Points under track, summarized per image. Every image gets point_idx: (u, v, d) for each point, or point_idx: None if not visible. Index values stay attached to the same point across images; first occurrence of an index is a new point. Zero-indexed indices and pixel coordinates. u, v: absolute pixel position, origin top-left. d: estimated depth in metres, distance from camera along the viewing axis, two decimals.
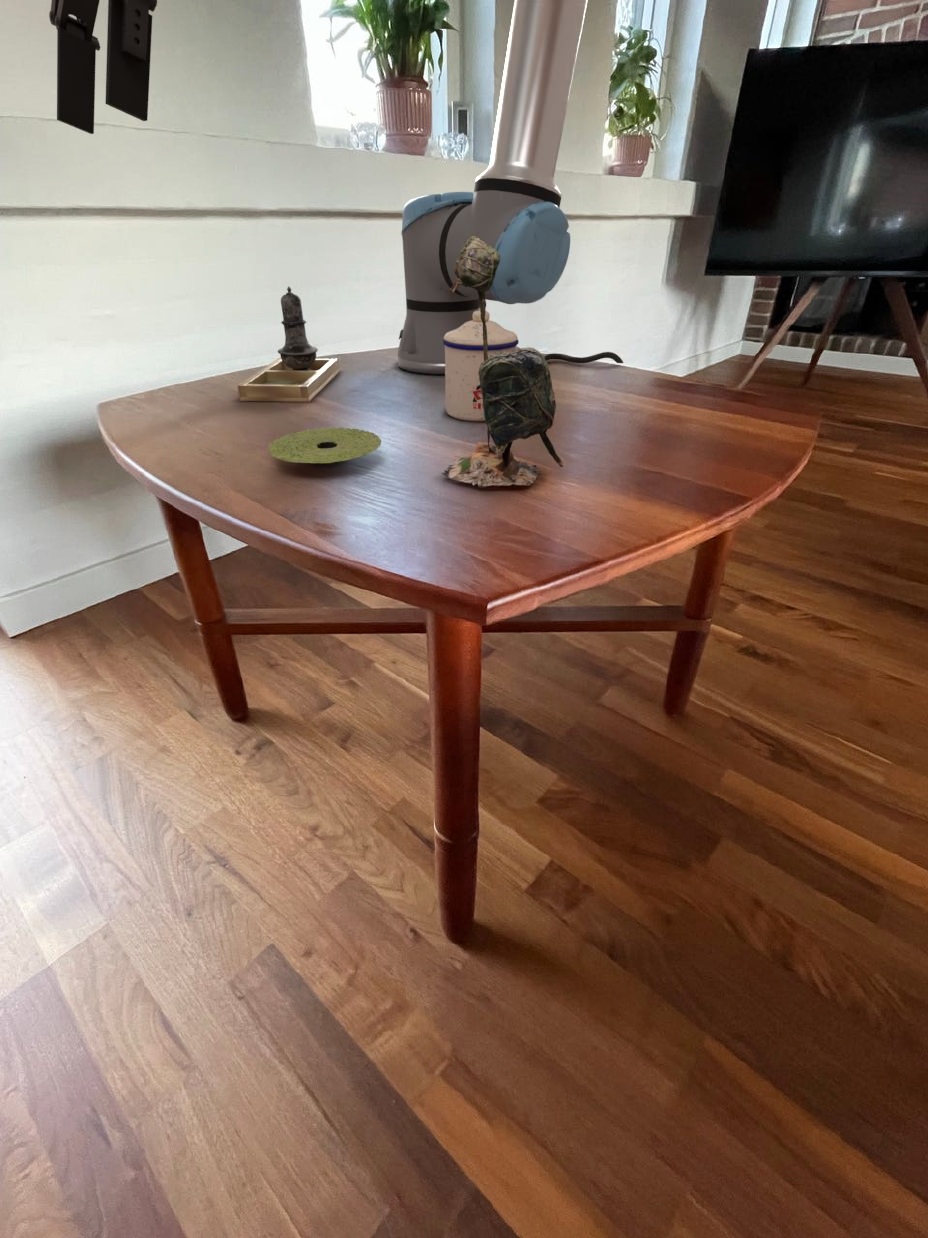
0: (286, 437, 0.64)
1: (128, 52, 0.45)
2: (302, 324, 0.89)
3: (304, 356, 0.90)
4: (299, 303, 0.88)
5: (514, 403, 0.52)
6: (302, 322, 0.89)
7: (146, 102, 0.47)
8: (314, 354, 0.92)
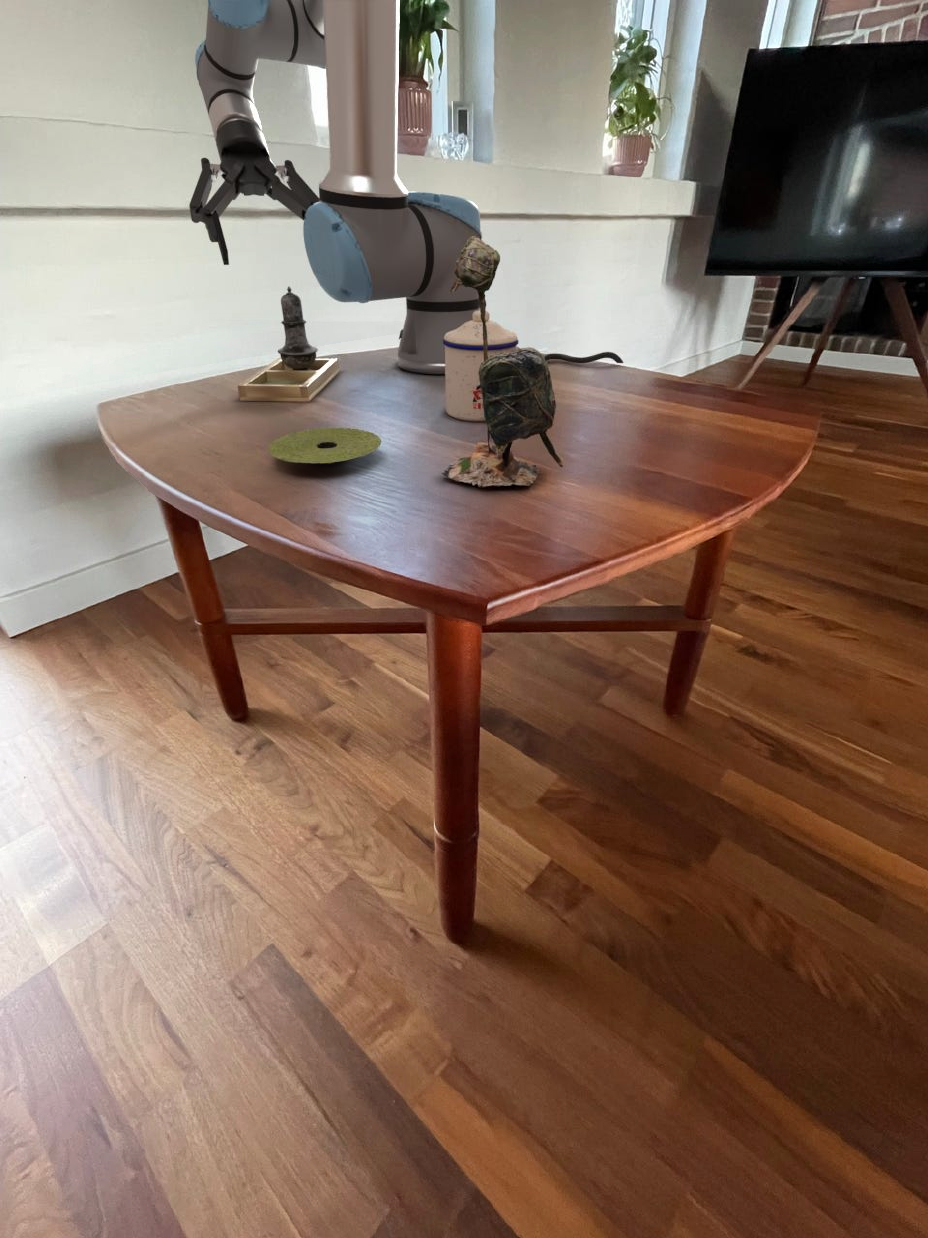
0: (286, 437, 0.64)
1: (212, 240, 0.92)
2: (302, 324, 0.89)
3: (304, 356, 0.90)
4: (299, 303, 0.88)
5: (514, 403, 0.52)
6: (302, 322, 0.89)
7: (220, 245, 0.90)
8: (314, 354, 0.92)
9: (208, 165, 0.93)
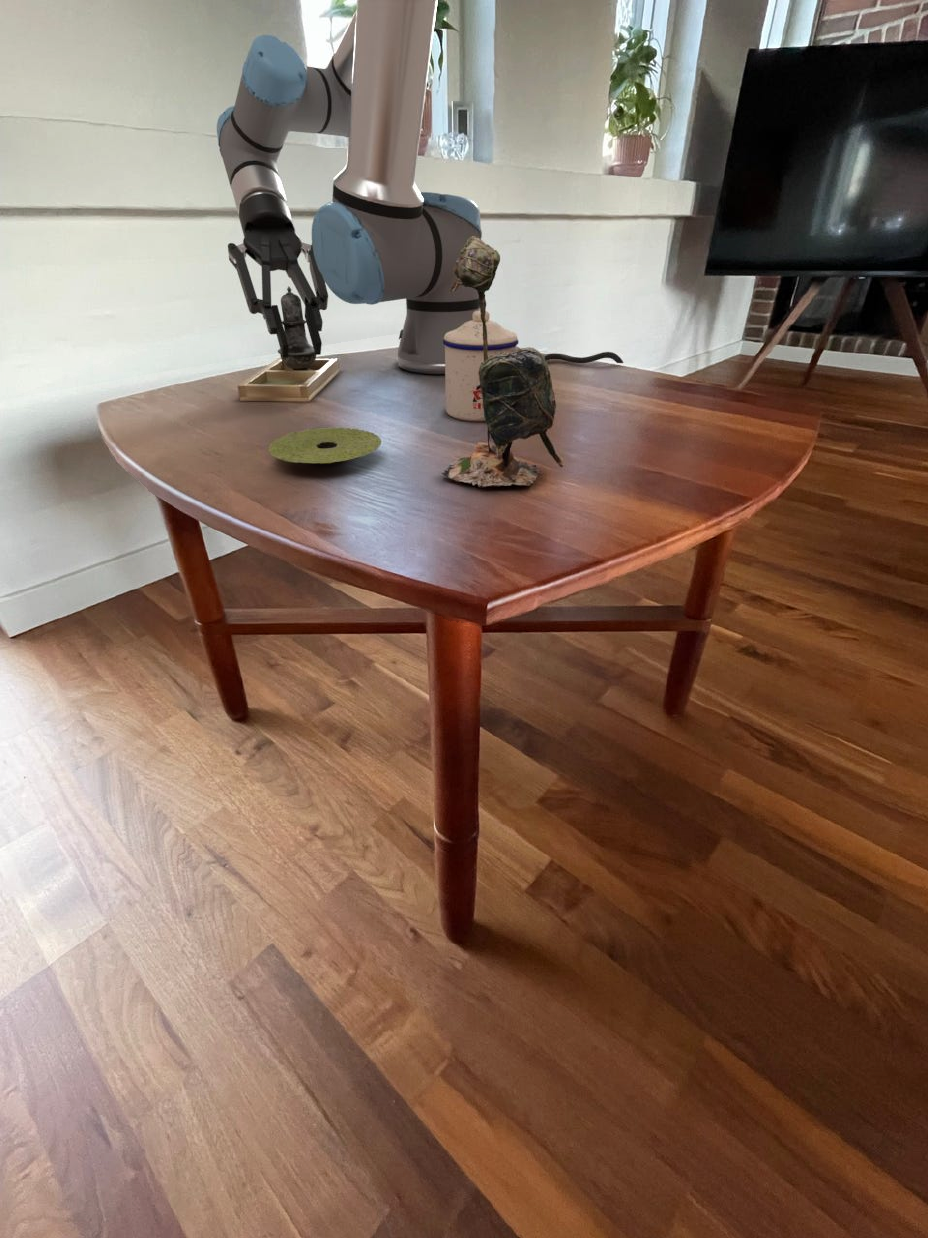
0: (286, 437, 0.64)
1: (271, 333, 0.88)
2: (302, 324, 0.89)
3: (304, 356, 0.90)
4: (299, 303, 0.88)
5: (514, 403, 0.52)
6: (302, 322, 0.89)
7: (281, 339, 0.87)
8: (314, 354, 0.92)
9: (237, 249, 0.88)
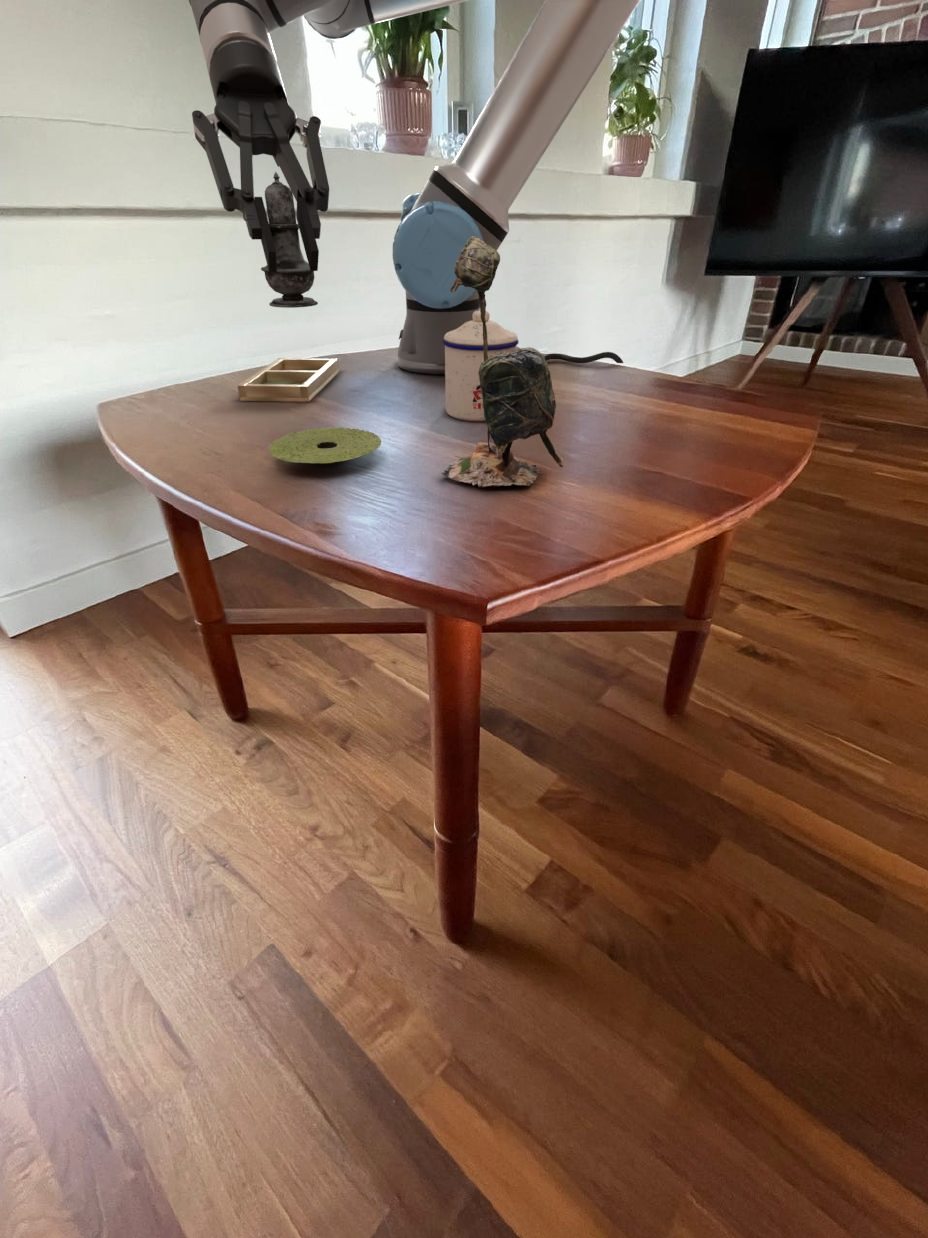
0: (286, 437, 0.64)
1: (253, 237, 0.63)
2: (294, 228, 0.64)
3: (297, 274, 0.65)
4: (290, 197, 0.63)
5: (514, 403, 0.52)
6: (294, 225, 0.64)
7: (266, 243, 0.62)
8: (311, 273, 0.67)
9: (206, 120, 0.63)
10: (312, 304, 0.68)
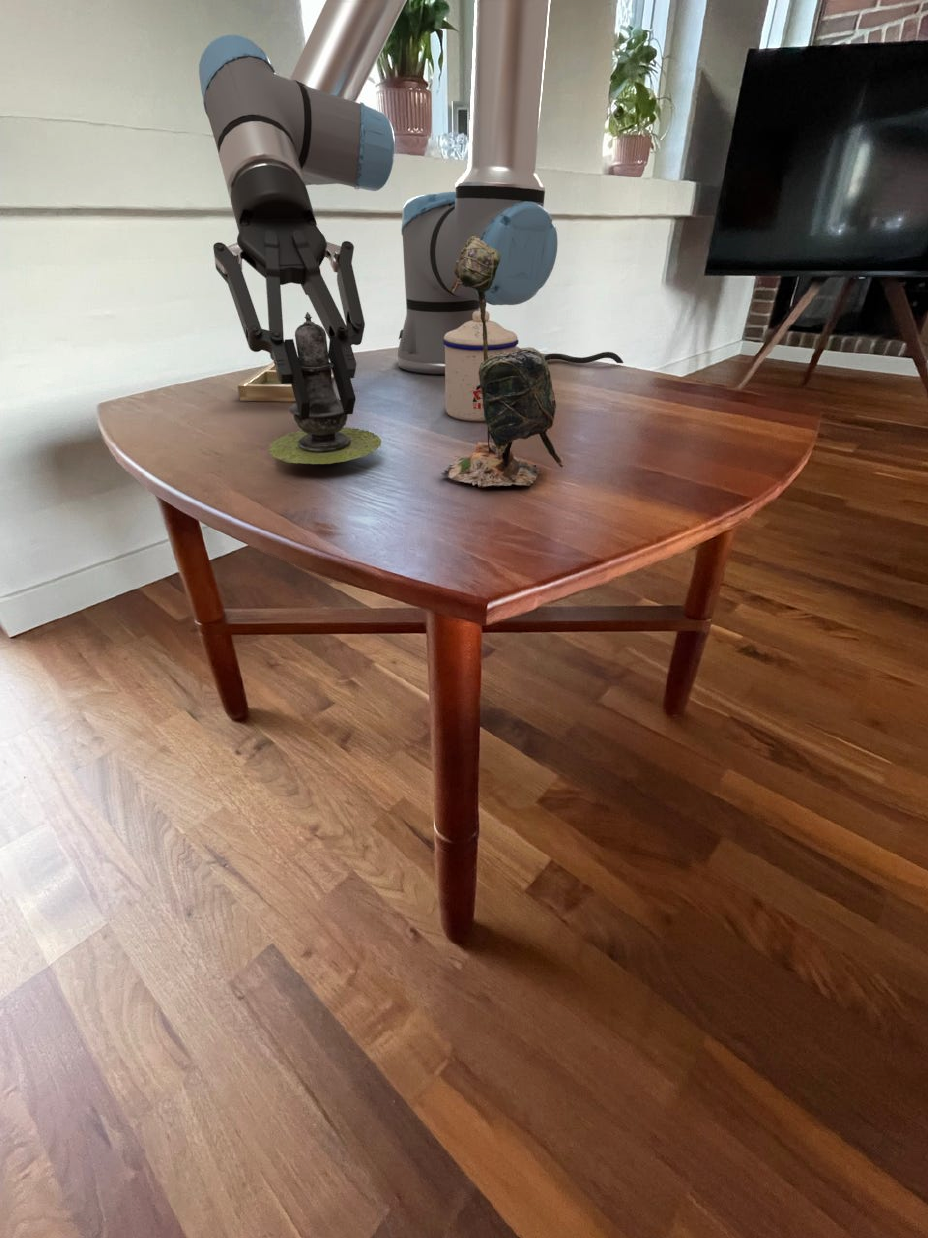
0: (286, 437, 0.64)
1: (283, 382, 0.57)
2: (328, 370, 0.58)
3: (330, 418, 0.59)
4: (324, 338, 0.57)
5: (514, 403, 0.52)
6: (328, 367, 0.58)
7: (298, 393, 0.55)
8: None
9: (229, 253, 0.56)
10: (345, 444, 0.62)
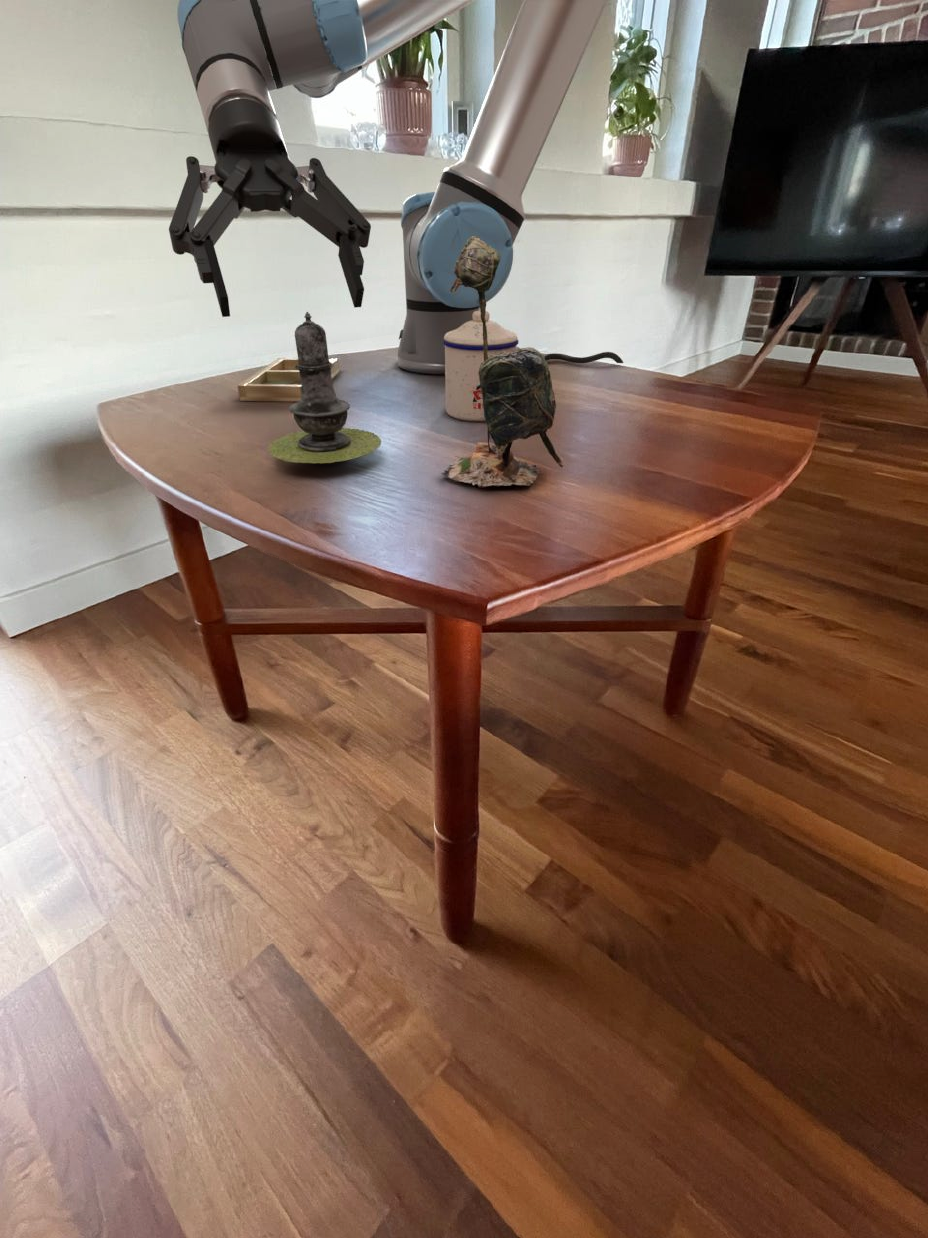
0: (286, 437, 0.64)
1: (204, 281, 0.61)
2: (327, 369, 0.58)
3: (330, 417, 0.59)
4: (323, 338, 0.57)
5: (514, 403, 0.52)
6: (328, 366, 0.58)
7: (217, 288, 0.59)
8: (345, 413, 0.60)
9: (197, 168, 0.62)
10: (345, 444, 0.62)
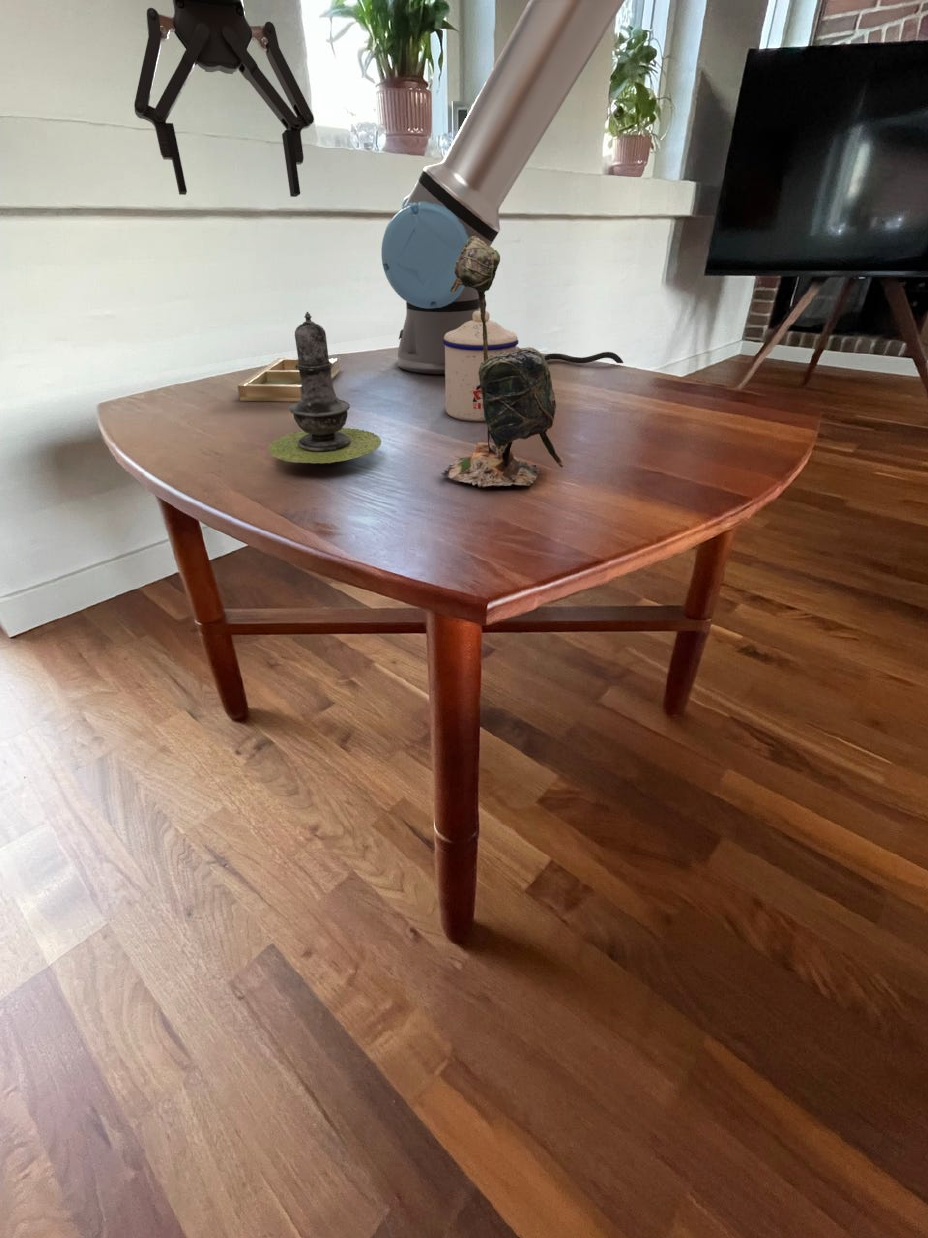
0: (286, 437, 0.64)
1: (165, 158, 0.73)
2: (328, 369, 0.58)
3: (330, 417, 0.59)
4: (323, 338, 0.57)
5: (514, 403, 0.52)
6: (328, 366, 0.58)
7: (177, 180, 0.73)
8: (345, 413, 0.60)
9: (157, 25, 0.67)
10: (345, 444, 0.62)
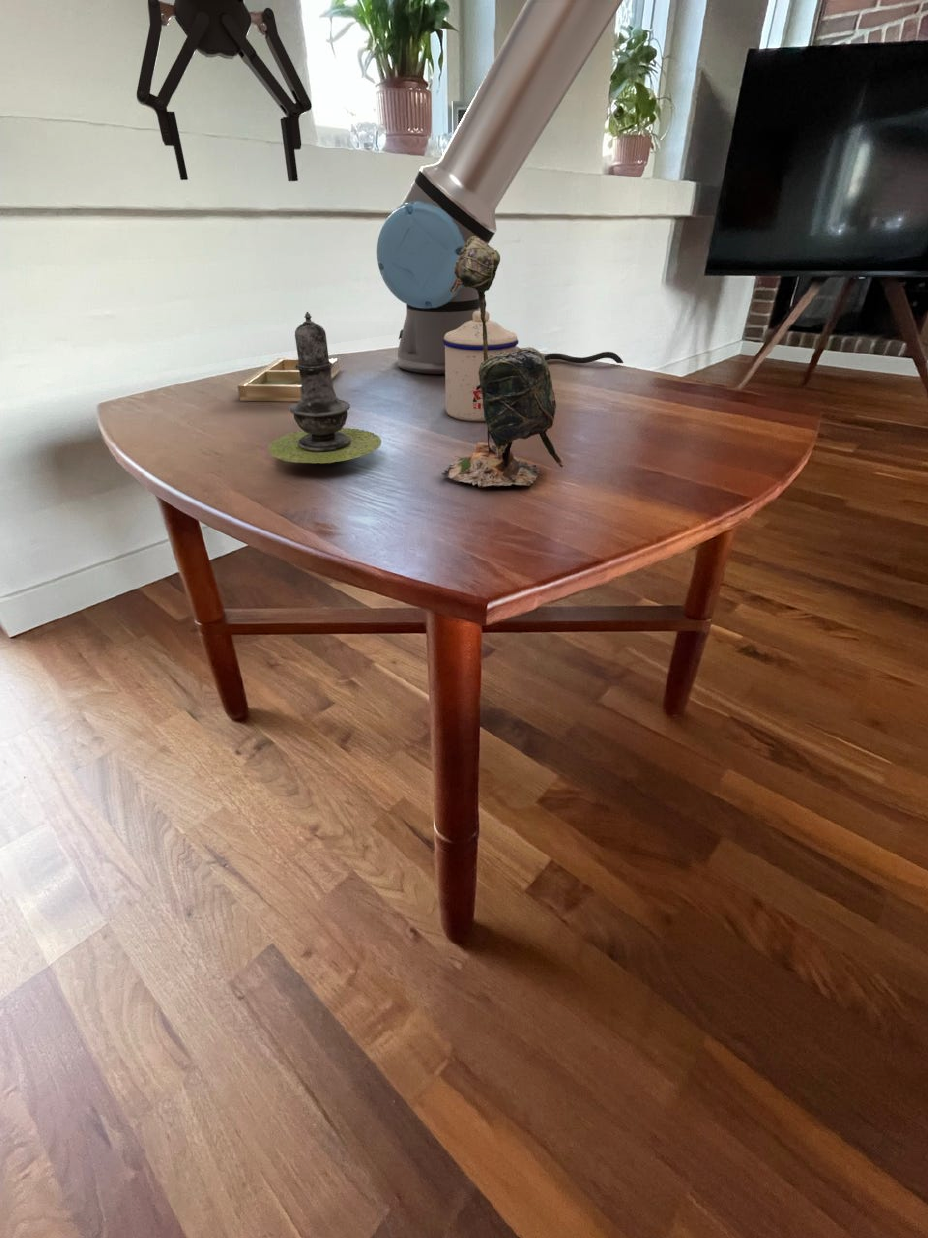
0: (286, 437, 0.64)
1: (166, 145, 0.75)
2: (328, 369, 0.58)
3: (330, 417, 0.59)
4: (323, 338, 0.57)
5: (514, 403, 0.52)
6: (328, 366, 0.58)
7: (179, 168, 0.76)
8: (345, 413, 0.60)
9: (158, 13, 0.68)
10: (345, 444, 0.62)
